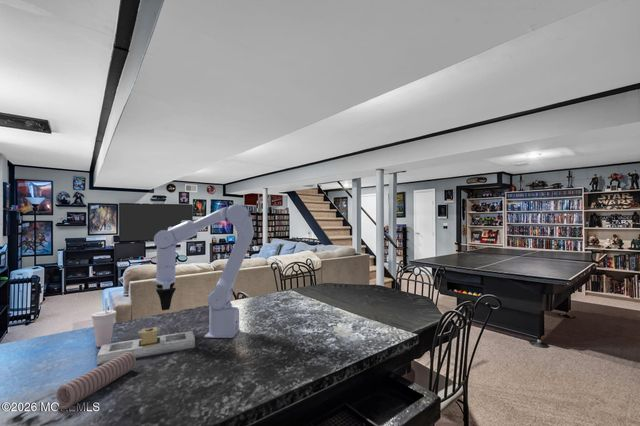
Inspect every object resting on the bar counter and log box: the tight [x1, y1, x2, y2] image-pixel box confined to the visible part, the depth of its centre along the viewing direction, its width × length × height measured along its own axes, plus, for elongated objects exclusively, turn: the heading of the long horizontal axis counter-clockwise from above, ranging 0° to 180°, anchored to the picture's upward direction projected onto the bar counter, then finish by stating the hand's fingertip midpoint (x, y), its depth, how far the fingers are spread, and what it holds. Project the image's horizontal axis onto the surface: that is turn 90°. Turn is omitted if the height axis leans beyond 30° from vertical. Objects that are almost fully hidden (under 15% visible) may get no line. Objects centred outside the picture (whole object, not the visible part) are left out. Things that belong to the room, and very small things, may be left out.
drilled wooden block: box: [137, 326, 161, 346], centre depth 90 cm, size 6×4×6 cm
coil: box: [56, 352, 137, 410], centre depth 70 cm, size 5×5×18 cm
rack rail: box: [96, 330, 196, 366], centre depth 90 cm, size 24×8×2 cm, turn 118°
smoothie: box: [90, 297, 117, 348], centre depth 95 cm, size 6×6×14 cm
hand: (165, 307), depth 102 cm, fingers open, 7 cm apart
